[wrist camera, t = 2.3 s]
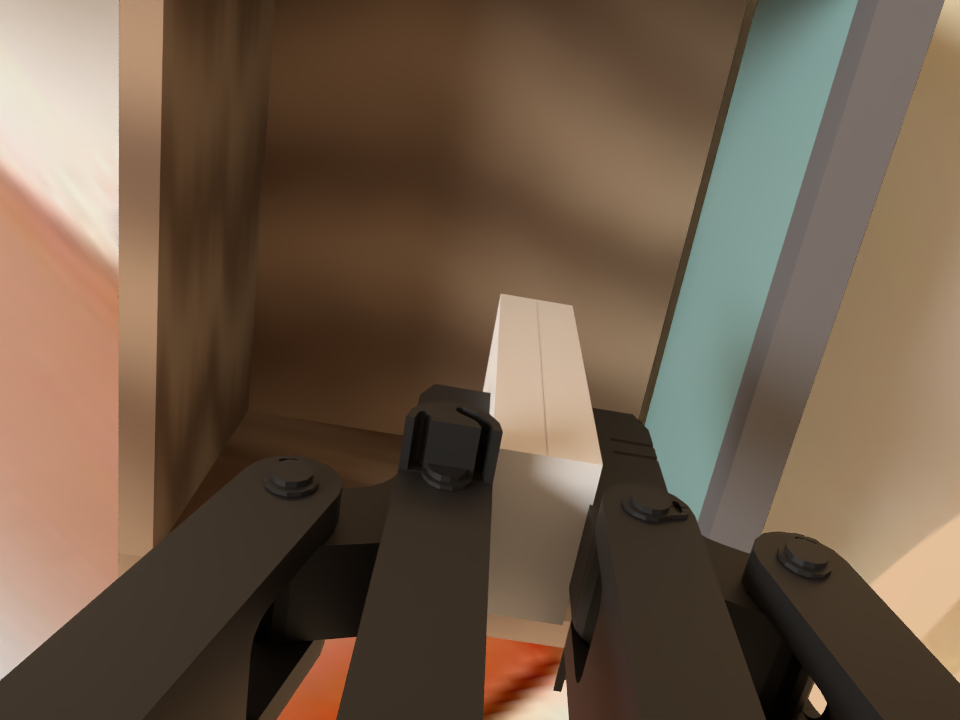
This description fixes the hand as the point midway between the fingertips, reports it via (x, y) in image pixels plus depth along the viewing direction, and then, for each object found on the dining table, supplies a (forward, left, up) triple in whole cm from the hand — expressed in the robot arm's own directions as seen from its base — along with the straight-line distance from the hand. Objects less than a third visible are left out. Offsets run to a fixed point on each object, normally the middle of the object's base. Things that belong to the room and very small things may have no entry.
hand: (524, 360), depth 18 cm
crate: (0, +1, -15) cm, 15 cm away
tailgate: (0, -8, -14) cm, 16 cm away
